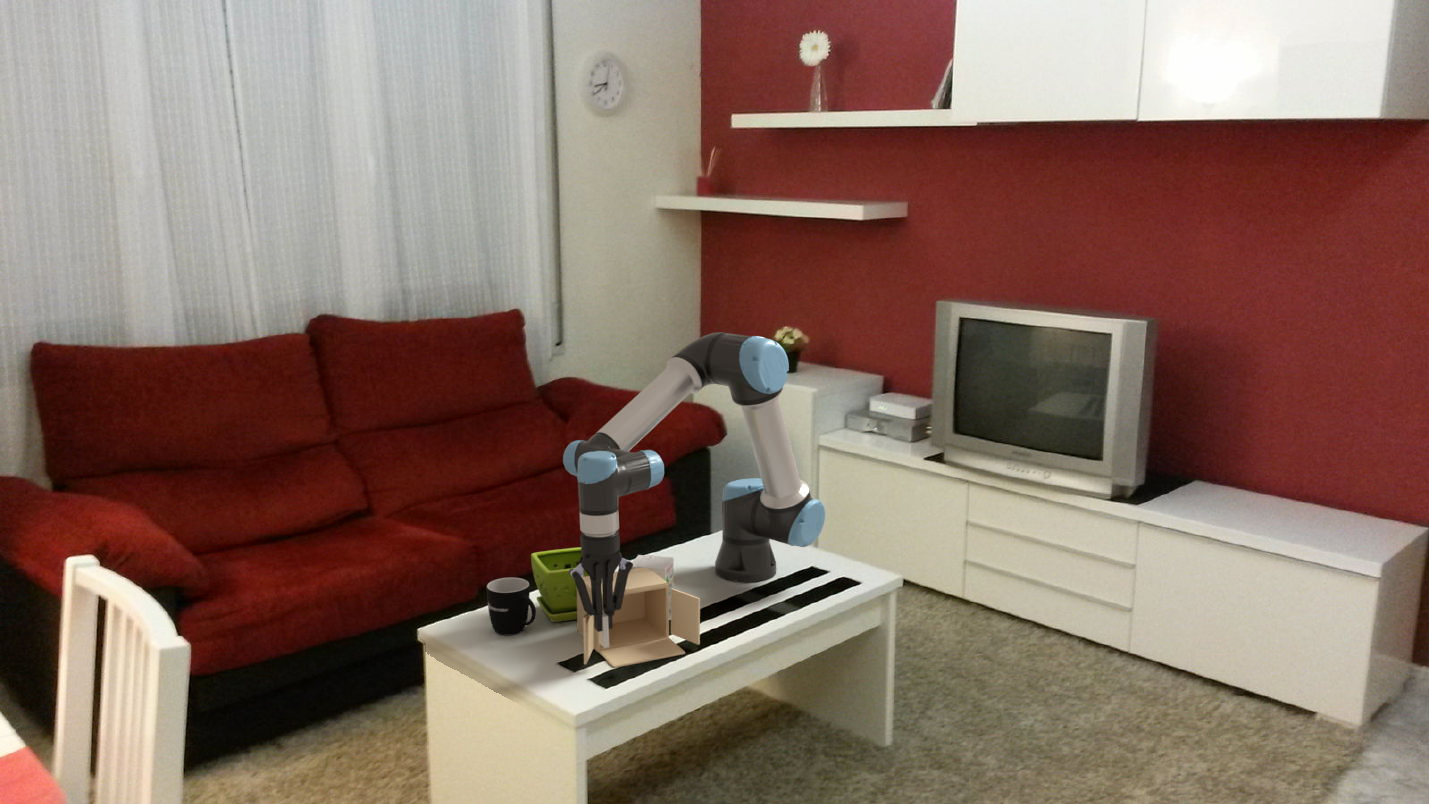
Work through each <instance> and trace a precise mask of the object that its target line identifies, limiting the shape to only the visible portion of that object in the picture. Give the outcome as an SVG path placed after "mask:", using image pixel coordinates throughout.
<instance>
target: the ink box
mask: <svg viewBox="0 0 1429 804" xmlns="http://www.w3.org/2000/svg"><path fill="white" fill-rule="evenodd" d="M631 562H632V563H633V567H632V568H631V569H636V568H643V567H647V568H648V569H649V570H651V571H653V572H654V573H656V574H657V575H658V576H660V577H661V578H662V579H664V580H665V581H666V582H667V583H668V584H669V612H671V589H672V588H673V589H674V557H670V556H661V555H653V554H652V555H650V554H645V555H644V554H643V555H642V554H637V556H636V558H634V560H633V561H631Z"/></svg>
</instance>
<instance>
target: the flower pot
mask: <svg viewBox="0 0 1429 804" xmlns="http://www.w3.org/2000/svg"><path fill="white" fill-rule="evenodd" d="M580 558H581V546H580V547H569V548H562V549H560V548H559V549H551V550H545V551H537V552H533V553H531V554H530V559H531V560H530V561H531V569H532V574H533V577H534V581H535V585H536V588H537V590H538V593H540V596H537V597H536V600H537V603H538V604H539V605H540V607H541V608H542V611H543V612H544V613H545V614H546V616H547V617H548V619H550V620H551V622H554V623H559V622H564V621H565V622H566V621H573V620H577V586H576V583H575V580H574V579H573V577H572V576H571V575H570V574H569V570H570V569H575V568H576V567H577V566H578V565H579V561H580ZM577 563H578V564H577ZM555 565H556V566H555ZM567 565H570V568H566V566H567ZM583 574H584V576H583V577H586V576H589V575H588V574H587V573H586V571H585V570H583Z"/></svg>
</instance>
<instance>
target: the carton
mask: <svg viewBox="0 0 1429 804" xmlns="http://www.w3.org/2000/svg"><path fill="white" fill-rule="evenodd" d="M617 573H618V571H615V572H614V573H613V592H614V587H615V582H616V578H617ZM582 578H583V580H584V582H585V585H586V588H587V591H588V594H589V597H590V600H591V603H592V592H591V581H590V576H586V577H582ZM601 591H602V584H601ZM602 608H603V591H602ZM603 612H604V610H603ZM585 614H586V612H585V611H584V608H583V605H582V602H581V599H580V596H579V592H578V589H577V619H576V621H577V626H576V627H577V632H578V633H579V635H580V636H581V637H582V639H584V630H583V617H584V615H585ZM700 617H701V598H700V597H699V596H698V597H697V596H695V595H692V594H689V593H687V592H685V591H684V592H683V591H681V590H678V589H675V588H674V587H673V588H672V589H671V610H670V611H669V584H668V583H667V582H666V581H665V580H664V579H662V578H661V577H660V576H658V575H657V574H656V573H654V572H653V571H651V570H649V569H648V568H647V567H643V568H636V569H631V570H630V572H629V574H628V578H627V583H626V588H625V592H624V597H623V602H622V606H621V609H620V610H616V611H614V615H613V616H612V622H613V627H612V629H609V647H607V648H604V647H603V646H602V645H601V644H600V643H599V632H598V631H596V630H595V628H594V615H593V628H594V648H593V650H595V651H596V652H597V653H599V654H600V656H602V657H603V658H604V660H605V661H607V663H609V665H610V666H611V667H612V668H614V669H616V668H621V667H625V666H631V665H635V664H641V663H646V662H651V661H655V660H661V659H666V658H671V657H675V656H680V655H681V656H682V655H685V654H686V652H685V650H684V649H683V648H681V647H680V646H679V645H678V644H677V643H675V641H673V640H672V639H671V638H670V634H671V635H672V636H675V637H677V638H680V639H683V640H685V641H688V642H691V643H693V644H695V645H697V646H698V645H700V644H701V640H700V639H701V638H700V637H701V633H700V631H701V628H700V626H701V618H700Z"/></svg>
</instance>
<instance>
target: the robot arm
mask: <svg viewBox="0 0 1429 804" xmlns="http://www.w3.org/2000/svg"><path fill="white" fill-rule="evenodd" d="M789 368H790V366H789V359H788V355H787V354H786V350H785V349H784V348H783V347H782V346H781V344H780V343H778V342H777V341H775V340H773V339H770V338H766V337H763V336H759V335H757V336H756V335H753V336H750V335H743V334H735V333H728V332H723V331H722V332H711V333H709V334H706V335H703V336H702V337H699V338H697V339H696V340H694V341H693V340H692V341H691V342H690V343H688V344H687V345H686V346H684V347H683V348H681V349H680V350H678V352H676V353H675V354H674V355H673V356H672V357H671V358H670V359H669V360H668V361H667V363H666V368H665V369H664V370H663V371H662V372H661V373H660V374H659V375H658V376H657V377H655V379H653V380H652V381H651V382H650V383H648V385H647V386H645V388H644V389H642V390H641V391H640V392H639V393H638V394H637V395H636V396H634V398H633V399H632V400H631V401H629V402H628V403H627V404H626V405H625V406H624V407H622V408H621V410H620V411H618V412H617V413H616V414H615V415H614V416H613V417H612V418H611V419H610V420H609V421H608V422H607V423H605V424H604V425H603V426H602V427H601V428H600V429H599V430H598V431H597V432H595V434H593V435H592V436H591V437H590V438H589V439H588V440H584V439H581V440H580V439H579V440H574V441H572V442H570V443H569V444H568V445H567V447H566V448H565V449H564V452H563V456H562V457H563V458H562V463H563V465H564V468H565V470H566V471H567V473H569V474H570V475H573V476H575V477H576V479H577V487H578V489H577V491H578V507H579V508H578V509H579V526H580V528H579V529H580V531H581V533H580V547H581V558H580V561H579V562H578V564H579V565H578V564H577V565H578V566H577V567H576V568H575V569H571V568H569V569H570V570H569V574H570V575H571V576H572V577H573V579H574V580H575V583H576V586H577V589H578V592H579V596H580V599H581V602H582V605H583V608H584V611H585V612H586V613H588V614H589V615H590V616H592V615H594V628H595V630H596V631H598V632H599V643H600V644H601V645H602V646H603V647H604V648H607V647H609V629H612V627H613V622H612V616H613V615H614V611H616V610H620V609H621V606H622V602H623V597H624V592H625V588H626V583H627V578H628V574H629V572H630V570H631V568H632V567H633V563H632V562H633V561H630V560H629V559H627V558H623V556H622V553H621V550H620V546H621V543H620V532H619V529H620V521H619V516H620V515H619V498H621V497H623V496H627V495H629V494H634V493H637V492H640V491H646V490H649V489H650V488H653V487H655V486H657V485H659V484H660V483H661V482H662V481H663V479H664V475H665V465H664V462H663V461H664V460H662V459H663V458H661V456H660V455H659V454H658V453H657V452H656V451H654V450H652V449H646V450H638V451H637V452H631V450H632V449H633V448H634V447H635V446H636V445H637V444H638V443H639V442H640V441H642V439H643V438H645V437H646V436H647V435H648V434H649V433H650V432H651V431H652V430H653V429H654V428H655V427H656V426H657V425H658V424H659V423H660V422H661V421H662V420H664V419H665V418H666V417H667V416H668V415H669V414H670V413H671V412H672V411H673V410H674V409H675V408H677V406H678V405H680V404H681V402H683V401H684V400H685V399H686V398H687V397H688V396H689V395H690V394H691V395H692V394H697V393H698V392H700V391H701V390H702V389H703V388H705V387H706V386H709V385H718V386H725V387H728V389H729V392H730V396H731V399H732V400H731V401H732V402H733V403H734V404H735V405H736V406H739V407H741V411H742V412H743V418H744V421H745V425H746V428H747V431H748V435H749V439H750V442H751V446H752V449H753V453H754V457H755V461H756V464H757V468H758V472H759V475H760V478H759V477H753V478H751V477H750V478H743V479H737V480H733V481H732V480H731V481H730V482H728V483H726V484H725V485H724V486H723V489H722V499H721V501H722V504H721V506H722V507H721V508H722V510H721V511H722V513H721V514H722V516H721V517H722V519H721V520H722V521H721V522H722V529H721V530H722V536H721V537H722V538H721V539H722V540H721V545H720V547H719V550H718V553H717V556H716V558H715V561H714V572H715V574H716V576H718V577H719V578H722V579H724V580H729V581H733V582H739V583H740V582H743V583H744V582H745V583H747V582H751V583H753V582H761V581H765V580H769V579H771V578H773V577H774V576H775V575H777V561H776V558H775V555H774V552H773V548H772V545H771V542H770V541H775V542H778V543H782V544H786V545H789V546H791V547H799V548H807V547H809V546H811V545H812V544H813V543H815V541H816V540H817V539H818V538H819V536H820V534H821V533H822V531H823V527H824V526H825V525H824V524H825V521H826V508H825V505H824V503H823V502H822V501H820V500H819V499H817V498H812V496H811V492H810V487H809V485H808V483H807V482H805V481H804V480H802V479H800V475H799V471H798V466H797V464H796V459H795V456H794V451H793V447H792V443H791V440H790V437H789V436H790V435H789V433H788V428H787V424H786V421H785V417H784V412H783V408H782V406H781V400H780V396H781V394H782V393H783V390H784V386H785V385H786V382H787V380H788V377H789V374H788V373H787V372H789V370H790V369H789ZM617 569H618V570H617ZM583 570H585V571H586V573H587V574H588V575H589V576H590V581H591V592H592V603H591V600H590V597H589V594H588V591H587V588H586V585H585V582H584V580H583V578H582V577H583V576H584V574H583ZM616 570H617V572H618V573H617V578H616V582H615V587H614V592H613V573H614V572H616ZM601 584H602V591H603V608H602V591H601ZM603 610H604V612H603Z"/></svg>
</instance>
